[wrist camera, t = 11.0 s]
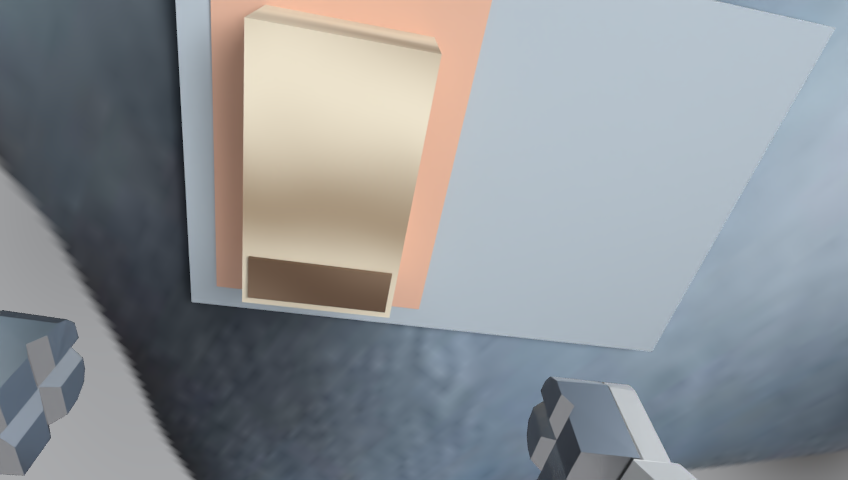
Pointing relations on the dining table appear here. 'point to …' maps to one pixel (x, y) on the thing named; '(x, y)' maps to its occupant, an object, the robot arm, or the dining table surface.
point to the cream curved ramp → (330, 157)
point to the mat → (530, 154)
